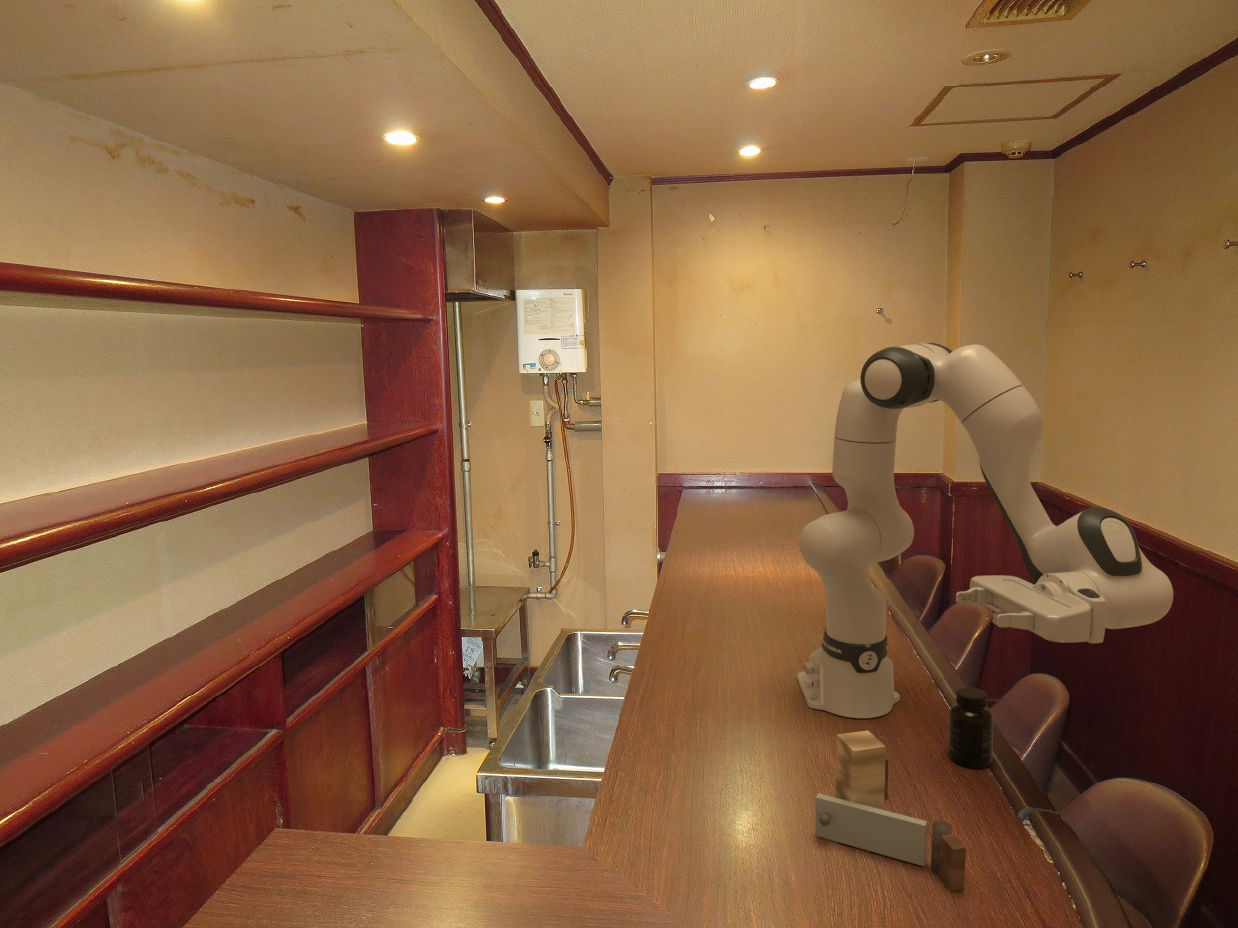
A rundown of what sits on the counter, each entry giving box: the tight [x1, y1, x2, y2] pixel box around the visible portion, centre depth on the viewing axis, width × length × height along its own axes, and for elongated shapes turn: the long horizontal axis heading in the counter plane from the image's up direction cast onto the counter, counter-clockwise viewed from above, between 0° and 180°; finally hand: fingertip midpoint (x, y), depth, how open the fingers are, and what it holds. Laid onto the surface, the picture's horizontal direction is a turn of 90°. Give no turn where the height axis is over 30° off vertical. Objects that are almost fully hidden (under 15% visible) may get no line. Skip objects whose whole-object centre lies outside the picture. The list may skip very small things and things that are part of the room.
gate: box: [815, 793, 928, 867], centre depth 114 cm, size 15×3×6 cm, turn 60°
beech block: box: [835, 730, 887, 810], centre depth 119 cm, size 5×5×14 cm
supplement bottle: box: [948, 687, 994, 769], centre depth 138 cm, size 7×7×12 cm
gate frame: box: [884, 756, 967, 892], centre depth 119 cm, size 27×2×6 cm, turn 8°
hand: (976, 609), depth 119 cm, fingers open, 8 cm apart
